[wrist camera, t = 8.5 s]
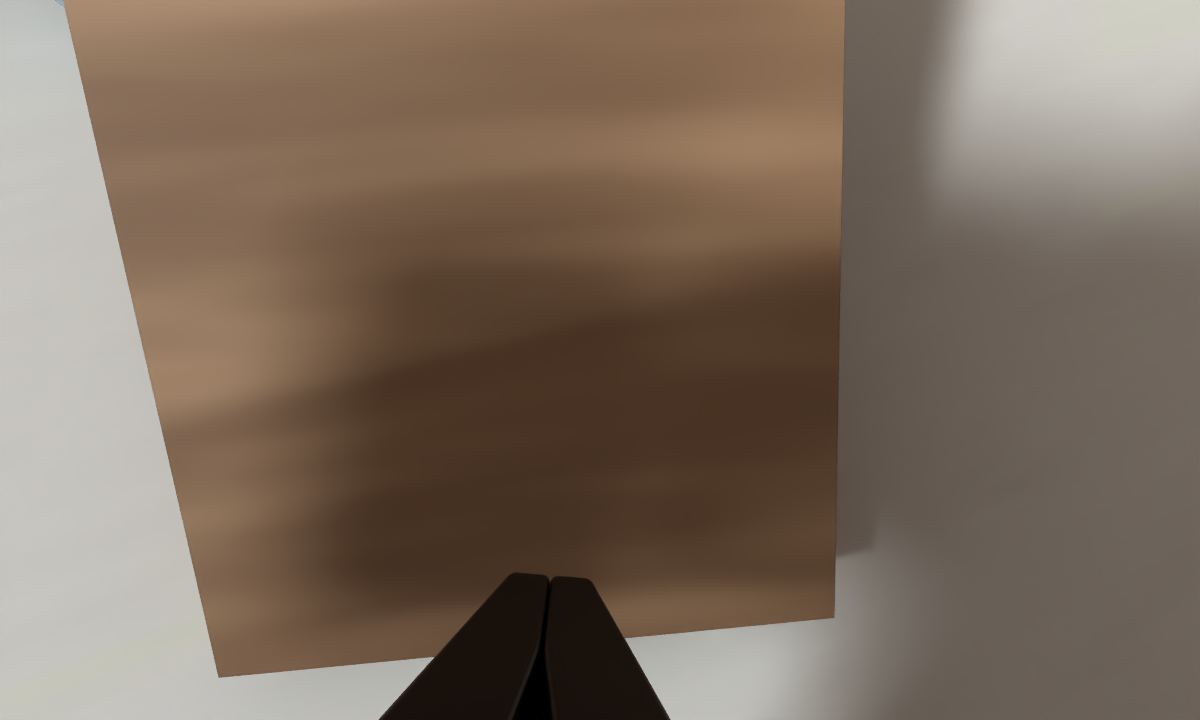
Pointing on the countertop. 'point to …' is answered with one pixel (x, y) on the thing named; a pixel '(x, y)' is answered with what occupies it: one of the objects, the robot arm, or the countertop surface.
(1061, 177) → the countertop surface
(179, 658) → the countertop surface
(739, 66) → the domino
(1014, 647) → the countertop surface
